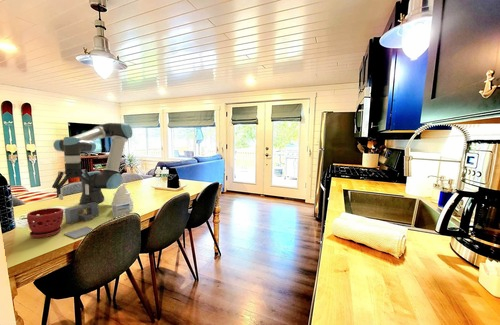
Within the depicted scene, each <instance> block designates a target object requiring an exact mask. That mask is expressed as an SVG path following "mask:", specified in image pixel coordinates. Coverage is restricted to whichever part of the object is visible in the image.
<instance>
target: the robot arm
mask: <svg viewBox="0 0 500 325" xmlns="http://www.w3.org/2000/svg"><path fill="white" fill-rule="evenodd" d="M132 137H133V128H132V126H131V125H130V124H128V123H124V122H123V123H120V122H117V123H116V122H108V123H107V122H106V123H102V124H101V125H100V124H99V125H96V126H94V127H93V128H92V129H89V130H88V131H84V132H83V133H80V134H76V135H73V136H65V137H63V139H56V140H55V141H54V142H53V148H54V150H56V151H57V152H63V155H64V157H63V158H64V162H65V163H64V169H65V170H64V171H60V170H59V171H58V172H57V173H58V174H57V177H56V178H55V181H54V183H53V184H52V187H51V188H53V189H56V195H58V200H62V201H63V200H64V193H63V188H62V187H63V186H64V185H65V184H66V183H67V182H68V180H70V179H74V178H75V179H77V178H79V179H80V183H81V196H80V199H79V204H80V205H83V204H88V203H92V202H95V203H98V204H99V203H103V202H104V201H105V196H104V194H103V191H102V189H103V190H106V189H107V190H115V189H118V188H119V187H120V186H122V184H123V183H122V182H123V176H122V174H121V171H120V170H119V169H120V167H121V166H120V165H121V161H122V158H123V153H124V148H125V145H126V143H127V142H128V141H129V139H131V138H132ZM104 138H111V139H112V141H111V145H110V150H109V153H108V158H107V162H106V165H105V168H104V169H102V170H101V171H102V172H101V171H100V170H95V171H89V172H88V170H87V169H86V168H85V169H82V163H81V162H82V160H81V158H82V156H81V153H92V152H94V151H95V150H96V148H97V145H96V142H94V141H96V140H98V139H104ZM64 175H65V176H64ZM63 176H64V178H63Z"/></svg>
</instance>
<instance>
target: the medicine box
mask: <svg viewBox="0 0 500 325" xmlns="http://www.w3.org/2000/svg"><path fill="white" fill-rule="evenodd" d="M130 211H131V210H130V205H129V203H122V204H118V205H114V206H113V212H112V214H113V215H112V217H113V218H116V217H119V216H122V215H125V214H129V213H130V214H131V212H130Z"/></svg>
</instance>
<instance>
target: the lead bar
mask: <svg viewBox="0 0 500 325" xmlns="http://www.w3.org/2000/svg"><path fill="white" fill-rule="evenodd" d="M93 218H94V217H92V215H91V214H87V212H84V211H83V212H82V213H78V219H79V221H82V222H89V221H92V220H93Z"/></svg>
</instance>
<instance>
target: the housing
mask: <svg viewBox="0 0 500 325" xmlns="http://www.w3.org/2000/svg"><path fill="white" fill-rule="evenodd" d="M79 210H83V211H84V210H86V213H87V214H91V215H92V218H96V217H99V203H95V202H92V203H88V204H80V205H77V206H76V205H75V206H71V207H67V208H64V216H65V223H67V224H70V225H72V224H74V223H79V222H80V220H79V219H78V211H79Z"/></svg>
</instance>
